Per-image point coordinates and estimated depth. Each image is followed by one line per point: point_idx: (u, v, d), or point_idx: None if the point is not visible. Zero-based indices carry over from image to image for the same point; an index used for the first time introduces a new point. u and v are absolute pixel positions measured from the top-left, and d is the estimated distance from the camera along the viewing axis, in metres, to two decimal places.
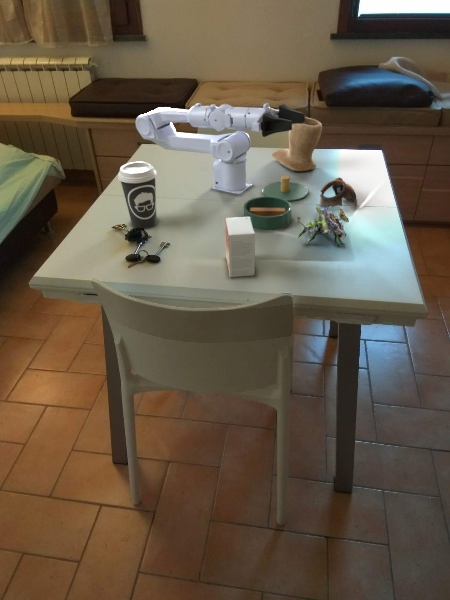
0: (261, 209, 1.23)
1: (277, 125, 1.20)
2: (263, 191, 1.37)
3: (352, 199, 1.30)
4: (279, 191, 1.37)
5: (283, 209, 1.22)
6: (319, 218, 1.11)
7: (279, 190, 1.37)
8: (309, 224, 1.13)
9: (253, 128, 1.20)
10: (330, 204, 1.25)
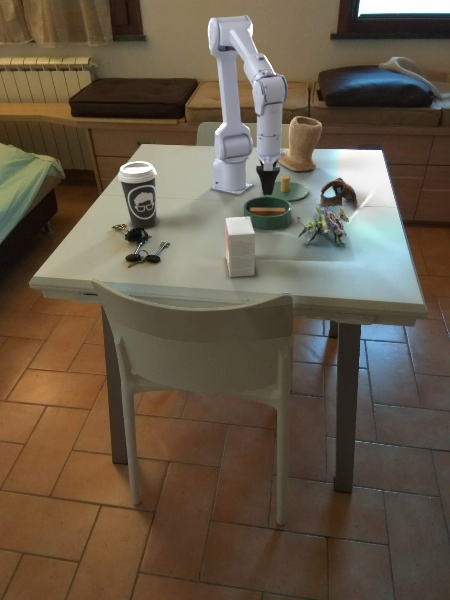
0: (261, 209, 1.23)
1: (267, 180, 1.14)
2: None
3: (352, 199, 1.30)
4: (279, 191, 1.37)
5: (283, 209, 1.22)
6: (319, 218, 1.11)
7: (279, 190, 1.37)
8: (309, 224, 1.13)
9: (266, 164, 1.08)
10: (330, 204, 1.25)
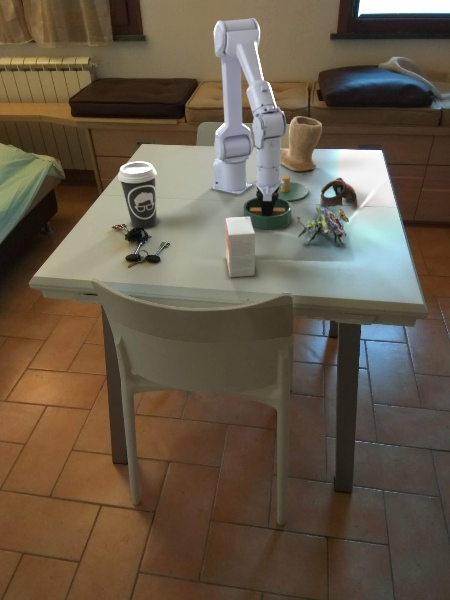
0: None
1: (267, 205, 1.20)
2: None
3: (352, 199, 1.30)
4: (279, 191, 1.37)
5: (283, 209, 1.22)
6: (319, 218, 1.11)
7: (279, 190, 1.37)
8: (309, 224, 1.13)
9: (266, 195, 1.13)
10: (330, 205, 1.25)
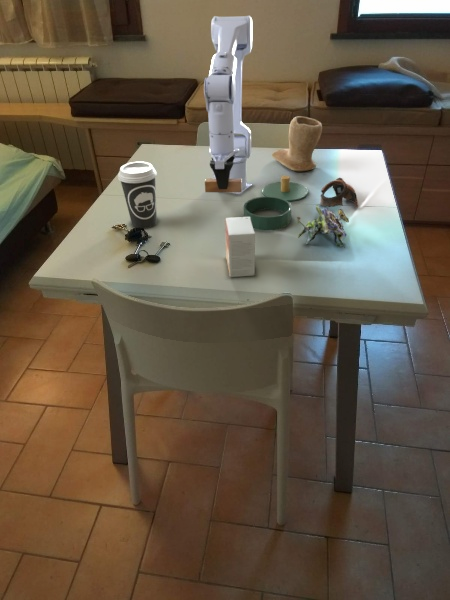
0: None
1: (222, 175, 1.15)
2: (263, 191, 1.37)
3: (353, 199, 1.30)
4: (279, 191, 1.37)
5: (239, 180, 1.17)
6: (319, 218, 1.11)
7: (279, 190, 1.37)
8: (309, 224, 1.13)
9: (217, 162, 1.08)
10: (330, 205, 1.25)
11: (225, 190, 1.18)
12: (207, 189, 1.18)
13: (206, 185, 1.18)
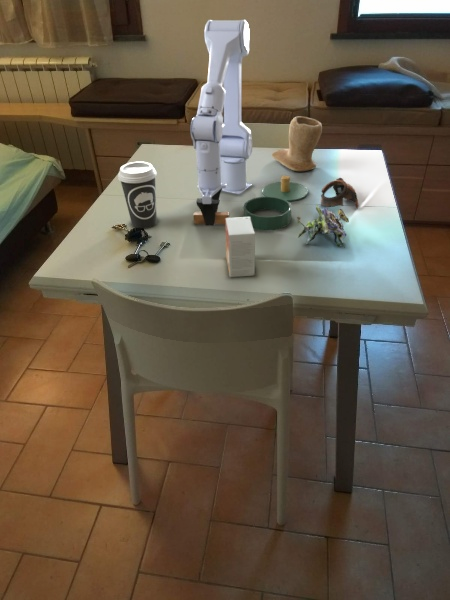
0: None
1: (208, 212, 1.18)
2: (263, 191, 1.37)
3: (353, 199, 1.30)
4: (279, 191, 1.37)
5: (227, 213, 1.22)
6: (319, 218, 1.11)
7: (279, 190, 1.37)
8: (309, 224, 1.13)
9: (205, 197, 1.13)
10: (330, 205, 1.25)
11: None
12: (196, 222, 1.24)
13: (195, 218, 1.23)
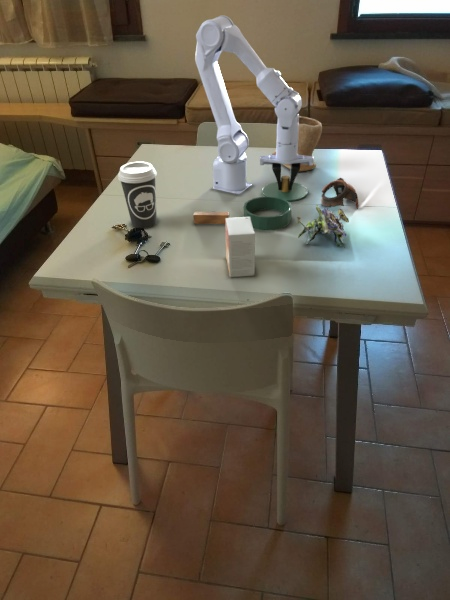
0: (205, 213, 1.23)
1: None
2: (263, 191, 1.37)
3: (353, 199, 1.30)
4: (279, 191, 1.37)
5: (227, 213, 1.22)
6: (319, 218, 1.11)
7: (279, 190, 1.37)
8: (309, 224, 1.13)
9: None
10: (331, 205, 1.25)
11: (213, 223, 1.23)
12: (196, 222, 1.24)
13: (195, 218, 1.23)
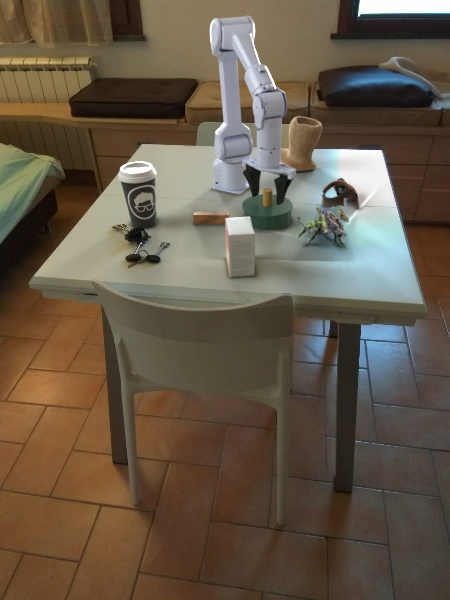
0: (205, 213, 1.23)
1: (282, 189, 1.17)
2: (246, 199, 1.25)
3: (354, 199, 1.30)
4: (261, 203, 1.23)
5: (227, 213, 1.22)
6: (319, 218, 1.11)
7: (262, 203, 1.23)
8: (309, 224, 1.13)
9: (293, 172, 1.12)
10: (331, 205, 1.25)
11: (213, 223, 1.23)
12: (196, 222, 1.24)
13: (195, 218, 1.23)
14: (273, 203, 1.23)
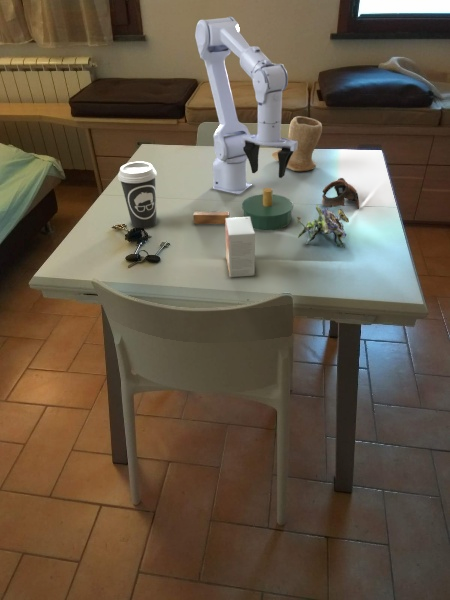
0: (205, 213, 1.23)
1: None
2: (246, 199, 1.25)
3: (354, 199, 1.30)
4: (261, 203, 1.23)
5: (227, 213, 1.22)
6: (319, 218, 1.11)
7: (262, 203, 1.23)
8: (309, 224, 1.13)
9: (295, 144, 1.16)
10: (332, 205, 1.25)
11: (213, 223, 1.23)
12: (196, 222, 1.24)
13: (195, 218, 1.23)
14: (273, 203, 1.23)
